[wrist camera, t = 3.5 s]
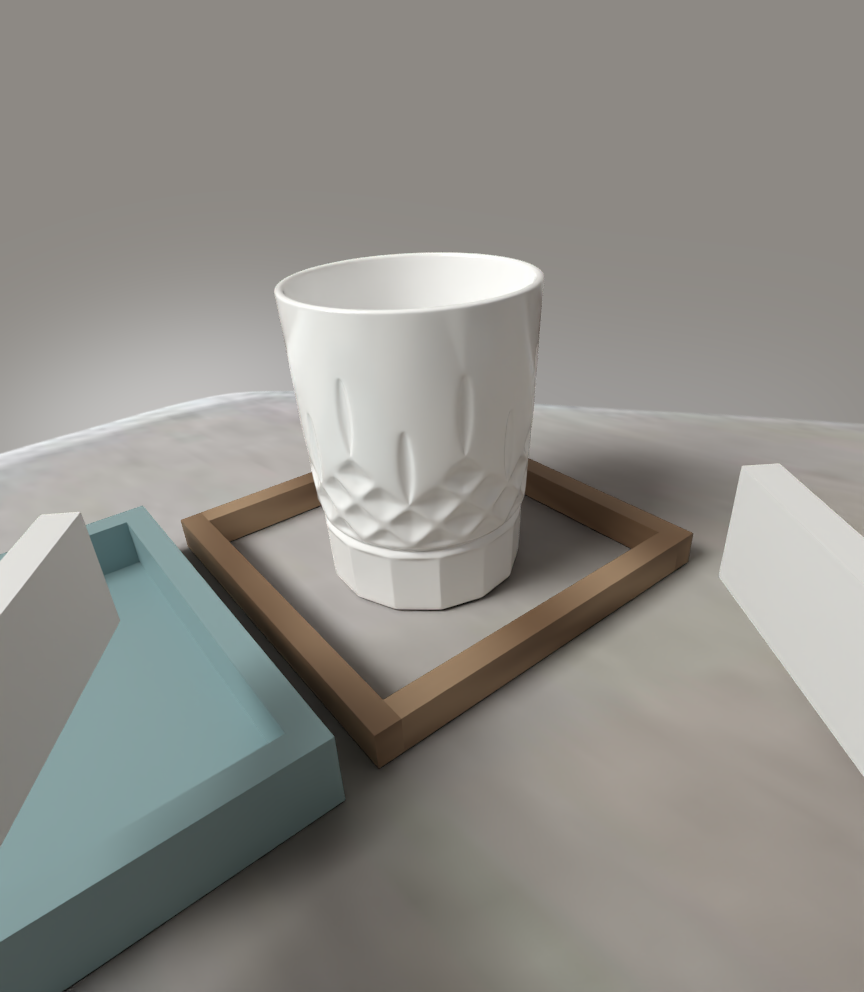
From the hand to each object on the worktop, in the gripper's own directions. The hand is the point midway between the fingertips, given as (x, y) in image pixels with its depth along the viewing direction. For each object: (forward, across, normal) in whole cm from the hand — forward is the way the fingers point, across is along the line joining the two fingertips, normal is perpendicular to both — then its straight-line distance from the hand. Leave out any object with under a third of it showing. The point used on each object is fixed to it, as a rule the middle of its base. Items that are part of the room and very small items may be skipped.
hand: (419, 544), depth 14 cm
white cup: (+9, 0, -7) cm, 11 cm away
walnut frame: (+9, 0, -6) cm, 11 cm away
